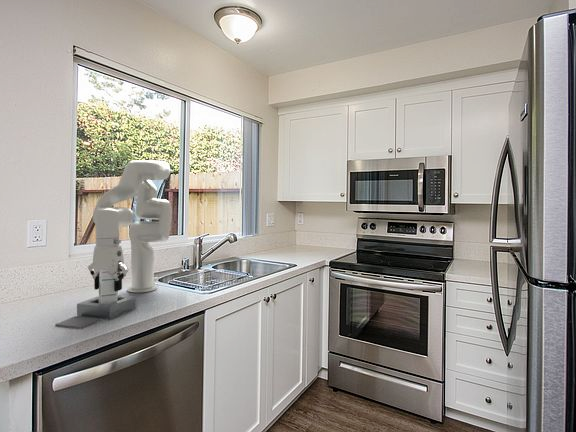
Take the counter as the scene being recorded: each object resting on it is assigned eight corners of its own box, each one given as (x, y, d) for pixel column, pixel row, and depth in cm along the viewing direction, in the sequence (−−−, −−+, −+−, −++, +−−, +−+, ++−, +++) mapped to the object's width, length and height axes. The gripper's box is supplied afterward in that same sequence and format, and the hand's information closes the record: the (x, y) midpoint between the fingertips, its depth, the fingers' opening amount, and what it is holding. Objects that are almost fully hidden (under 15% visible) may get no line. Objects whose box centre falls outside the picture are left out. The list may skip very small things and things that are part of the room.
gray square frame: (105, 305, 131) (105, 293, 131) (135, 308, 128) (135, 296, 128) (77, 316, 118) (76, 303, 118) (109, 320, 115) (109, 307, 115)
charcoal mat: (75, 317, 116) (75, 316, 116) (100, 320, 114) (100, 318, 114) (55, 325, 109) (55, 324, 109) (81, 329, 107) (81, 327, 107)
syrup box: (117, 308, 123) (119, 268, 123) (99, 310, 119) (100, 269, 119) (115, 304, 127) (116, 266, 127) (97, 306, 124) (99, 267, 124)
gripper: (135, 242, 124) (135, 288, 125) (95, 239, 128) (96, 285, 129) (121, 244, 117) (121, 294, 118) (79, 242, 120) (80, 290, 121)
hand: (108, 289), depth 123 cm, fingers closed on syrup box, 7 cm apart
